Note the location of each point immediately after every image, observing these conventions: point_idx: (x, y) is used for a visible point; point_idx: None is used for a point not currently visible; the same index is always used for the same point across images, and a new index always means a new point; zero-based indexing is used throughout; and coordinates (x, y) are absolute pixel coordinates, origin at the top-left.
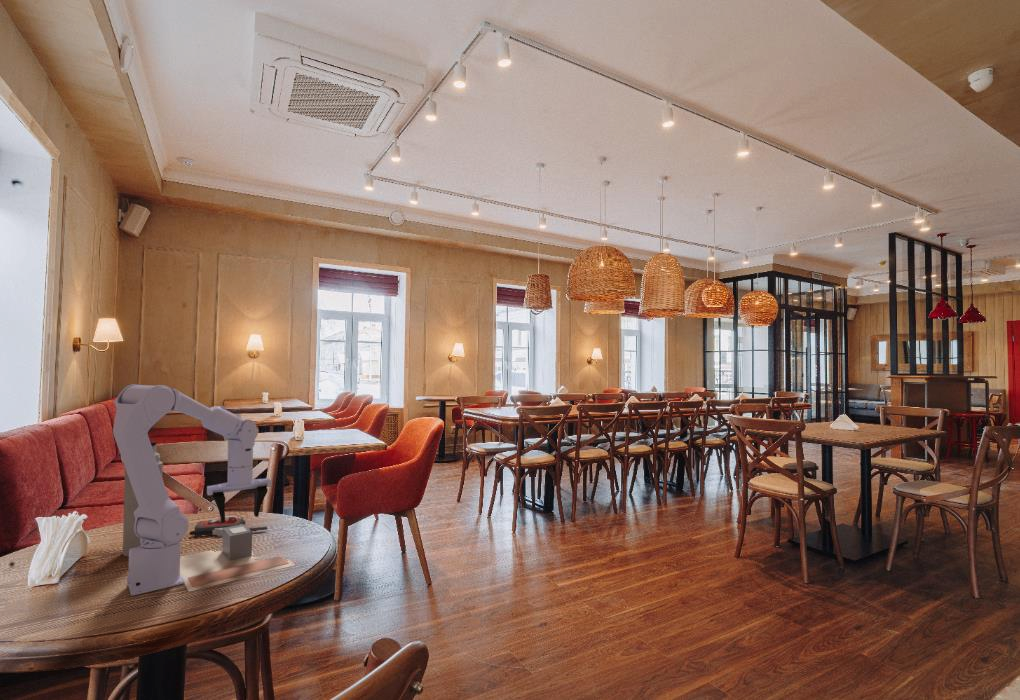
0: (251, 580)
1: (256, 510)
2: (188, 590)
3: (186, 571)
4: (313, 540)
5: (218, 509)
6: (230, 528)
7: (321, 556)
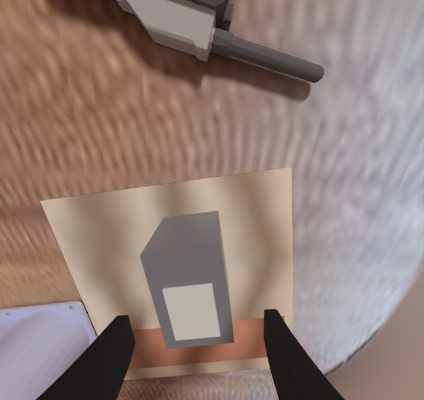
0: (211, 383)
1: (275, 381)
2: None
3: (96, 301)
4: (390, 251)
5: (64, 377)
6: (168, 276)
7: (352, 349)
